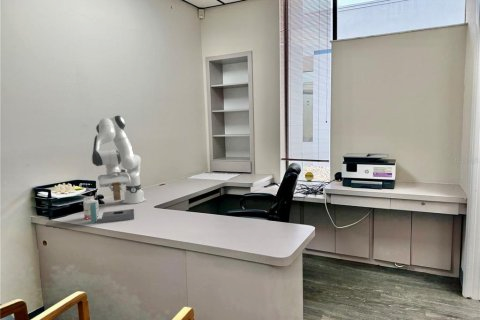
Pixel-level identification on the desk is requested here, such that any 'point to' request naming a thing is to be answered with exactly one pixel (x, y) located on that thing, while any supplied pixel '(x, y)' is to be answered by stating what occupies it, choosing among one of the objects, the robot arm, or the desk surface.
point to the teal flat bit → (93, 212)
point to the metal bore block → (118, 215)
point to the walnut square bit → (116, 191)
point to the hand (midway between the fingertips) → (116, 190)
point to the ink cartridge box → (87, 206)
